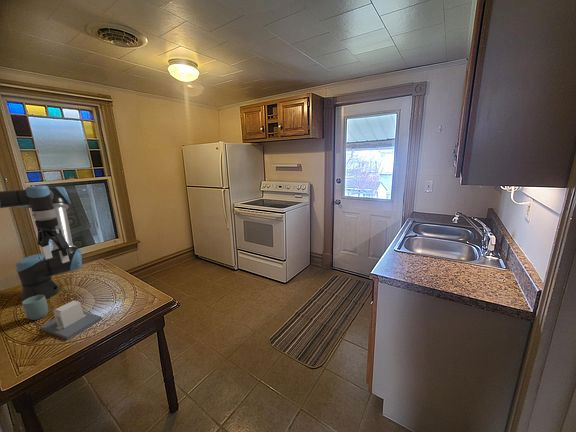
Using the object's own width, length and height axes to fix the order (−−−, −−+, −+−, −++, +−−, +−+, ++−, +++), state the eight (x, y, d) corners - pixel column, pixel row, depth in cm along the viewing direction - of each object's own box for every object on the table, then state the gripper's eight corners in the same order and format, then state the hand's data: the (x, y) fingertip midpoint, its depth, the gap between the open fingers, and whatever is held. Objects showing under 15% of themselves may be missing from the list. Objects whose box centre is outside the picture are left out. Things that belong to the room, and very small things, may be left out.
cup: (53, 313, 121) (48, 296, 118) (33, 323, 114) (27, 305, 111) (44, 310, 123) (38, 293, 121) (23, 320, 116) (17, 302, 114)
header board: (40, 329, 110) (36, 318, 108) (75, 311, 122) (72, 300, 121) (67, 339, 103) (64, 327, 101) (102, 319, 116) (99, 308, 114)
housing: (57, 325, 109) (52, 310, 107) (77, 314, 117) (73, 300, 115) (64, 328, 108) (59, 312, 106) (84, 317, 115) (80, 302, 113)
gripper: (20, 218, 114) (32, 260, 120) (51, 222, 106) (63, 266, 111) (40, 215, 121) (51, 254, 126) (71, 218, 113) (82, 260, 118)
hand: (57, 260), depth 119 cm, fingers open, 13 cm apart
